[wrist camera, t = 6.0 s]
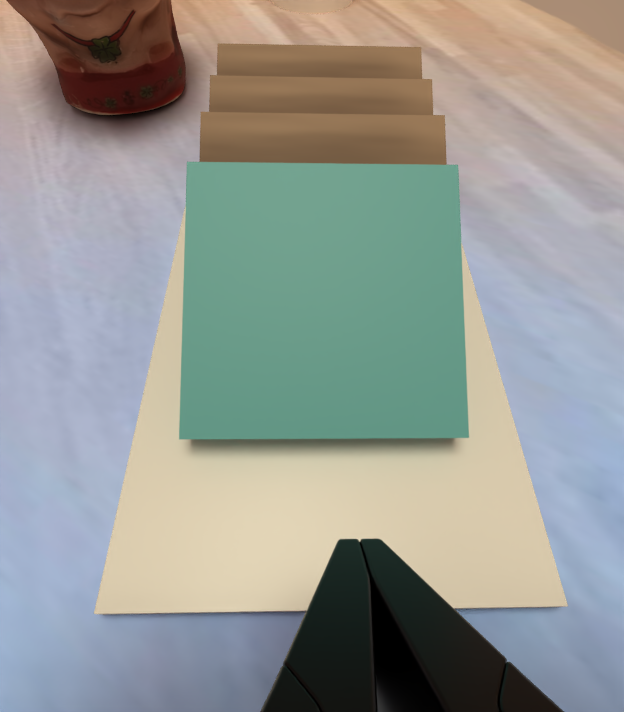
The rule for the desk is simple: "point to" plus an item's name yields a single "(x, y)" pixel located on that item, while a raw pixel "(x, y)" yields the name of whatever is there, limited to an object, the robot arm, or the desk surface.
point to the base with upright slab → (312, 5)
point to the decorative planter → (110, 51)
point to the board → (322, 501)
